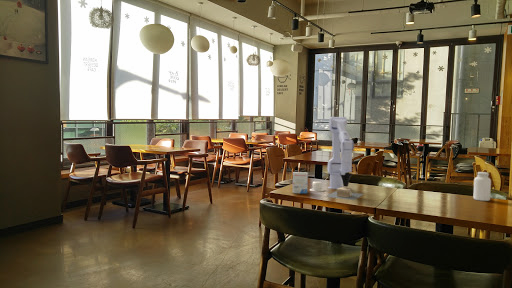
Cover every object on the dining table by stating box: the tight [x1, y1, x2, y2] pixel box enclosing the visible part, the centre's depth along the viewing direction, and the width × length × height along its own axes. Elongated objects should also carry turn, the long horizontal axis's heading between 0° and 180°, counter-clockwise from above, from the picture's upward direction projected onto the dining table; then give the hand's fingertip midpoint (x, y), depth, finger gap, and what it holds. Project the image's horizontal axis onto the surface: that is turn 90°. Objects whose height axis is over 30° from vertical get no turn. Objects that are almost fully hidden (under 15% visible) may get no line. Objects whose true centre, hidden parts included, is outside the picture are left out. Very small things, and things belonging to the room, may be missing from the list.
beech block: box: [336, 186, 352, 197], centre depth 214 cm, size 4×6×7 cm
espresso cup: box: [309, 181, 325, 192], centre depth 231 cm, size 9×9×5 cm
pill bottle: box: [472, 171, 492, 202], centre depth 212 cm, size 8×8×15 cm
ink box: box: [292, 171, 309, 195], centre depth 223 cm, size 9×5×12 cm, turn 84°
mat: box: [324, 190, 364, 201], centre depth 216 cm, size 20×16×1 cm
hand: (345, 186), depth 216 cm, fingers closed
